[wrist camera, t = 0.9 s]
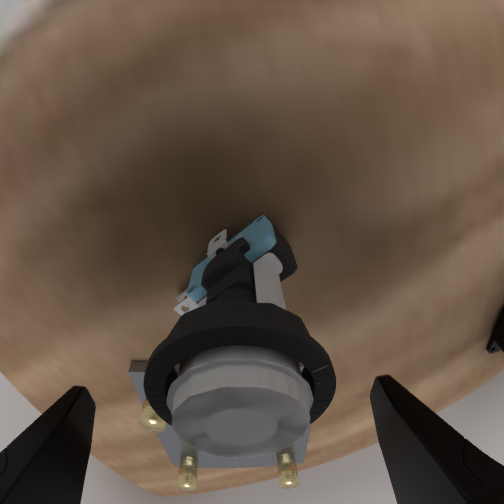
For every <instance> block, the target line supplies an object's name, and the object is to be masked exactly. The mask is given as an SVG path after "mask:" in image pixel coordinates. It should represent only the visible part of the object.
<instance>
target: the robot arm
mask: <svg viewBox="0 0 504 504" xmlns="http://www.w3.org/2000/svg"><path fill="white" fill-rule="evenodd" d="M500 350H502V351H503V352H504V310H503V312H502V315H501V317H500V320H499V322H498V324H497V327H496V329H495V331H494V334H493V336H492V338H491V340H490V342H489V345H488V347H487V351H488V352H489V353H490V354H491V353H494V352H497V351H500ZM370 400H371V405H372V410H373V415H374V420H375V426H376V431H377V436H378V440H379V444H380V447H381V450H382V454H383V457H384V460H385V463H386V466H387V469H388V473H389V477H390V480H391V483H392V487H393V490H394V493H395V497H396V501H397V504H504V466H503V465H502V464H500V463H498V462H497V461H495V460H494V459H492V458H490V457H489V456H488V455H486V454H485V453H483V452H482V451H481V450H479V449H478V448H477V447H476V446H474V445H473V444H472V443H471V442H469V441H468V440H467V439H464V437H463V436H462V435H461V434H460V433H458V432H457V431H456V430H455V429H454V428H452V427H451V426H450V425H448V423H446V422H445V421H444V420H443V419H442V418H440V417H439V416H438V415H437V414H436V413H434V412H433V411H432V410H431V409H430V408H428V407H427V406H426V405H425V404H424V403H422V402H421V401H420V400H419V399H418V398H416V397H415V396H414V395H413V394H412V393H410V392H409V391H408V390H407V389H406V388H404V387H403V386H402V385H401V384H400V383H398V382H397V381H396V380H395V379H394V378H392V377H391V376H390V375H382V376H377V377H376V378H375V380H374V383H373V386H372V390H371V393H370ZM95 409H96V407H95V402H94V400H93V398H92V397H91V395H90V393H89V392H88V390H87V388H86V387H84V386H73V387H72V388H71V389H69V390H68V391H67V392H66V393H65V394H64V395H63V396H62V397H61V398H59V399H58V400H57V401H56V402H55V403H54V404H53V405H52V406H51V407H50V408H48V409H47V410H46V411H45V412H44V413H43V414H42V415H41V416H40V417H39V418H37V419H36V420H35V421H34V422H33V423H32V424H31V425H30V426H29V427H28V428H26V429H25V430H24V431H23V432H22V433H21V434H20V435H19V436H18V437H17V438H16V439H14V440H13V441H12V442H11V443H10V444H9V445H8V446H7V448H5V449H4V450H2V451H1V452H0V504H80V502H81V497H82V491H83V485H84V480H85V475H86V469H87V464H88V459H89V455H90V450H91V443H92V434H93V425H94V417H95Z"/></svg>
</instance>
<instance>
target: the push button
mask: <svg viewBox="0 0 504 504" xmlns="http://www.w3.org/2000/svg"><path fill="white" fill-rule="evenodd" d="M219 237H220V238H219ZM218 238H219V239H218ZM226 238H227V229H224V230H223V231H221V232H220V233H219V234H217V235H216V236H215V237H214V238H212V239H211V241H210V242H209V245H208V250H207V251H208V253H207V255H208V257H207V258H206V259H205V260H203V261H202V262H201V263H199V264H198V265H197V266H196V267H195V268H194V269H193V271H192V274H191V278H190V283H189V285H188V286H189V287H188V289H187V290H186V291H184V292H183V293H182V294H180V295H179V296H178V297H177V300H178V301H179V302H180V303H179V304H178V305H176V306H175V307H174V310H175V311H176V312H178V313H179V314H180V315H181V317H180V319H179V320H178V322H177V323H176V325H175V326H174V328H173V329H172V331H171V332H170V334H169V335H168V337H167V338H166V339H165V340H164V341H163V342H162V343H160V344H159V345H158V346H157V348H156V349H155V350H154V351H153V353H152V355H151V357H150V358H149V361H148V364H147V367H146V371H145V375H144V392H145V395H146V398H147V400H148V402H149V404H150V406H151V407H152V409H153V410H154V411H155V412H156V414H157V415H158V416H159V417H160V418H161V419H162V420H164V421H165V422H166V423H168V424H169V425H170V426H172V428H173V430H174V433H176V434H177V435H178V436H179V437H180V439H181V440H182V441H183V442H185V443H186V444H188V445H190V446H191V447H192V448H195V449H198V450H200V451H202V452H204V453H208V454H213V455H216V456H220V457H228V458H252V457H258V456H263V455H267V454H270V453H274V452H278V451H281V450H283V449H285V448H286V447H288V446H290V445H291V444H293V443H295V442H297V441H298V440H300V439H301V438H302V437H303V435H304V433H305V431H306V430H307V428H308V427H309V425H310V424H311V423H313V422H314V421H315V420H316V419H318V418H319V417H320V416H321V415H322V414H323V413H324V411H325V410H326V409H327V407H328V406H329V404H330V403H331V401H332V399H333V396H334V393H335V389H336V376H335V372H334V369H333V366H332V363H331V360H330V358H329V356H328V354H327V352H326V351H325V350H324V348H323V347H322V346H321V345H320V344H319V343H318V342H317V341H316V340H315V339H313V338H312V337H311V336H310V334H309V333H308V331H307V329H306V327H305V325H304V323H303V321H302V320H301V318H300V317H298V316H297V315H295V314H293V313H291V312H289V311H287V309H286V305H285V300H284V296H283V291H282V287H281V281H283V280H284V279H286V278H287V277H289V276H290V275H291V274H293V273H294V272H295V271H296V269H297V264H296V261H295V258H294V255H293V252H292V249H291V247H290V245H289V244H288V243H287V241H286V240H285V239H284V238H283V237H282V235H281V234H280V233H279V232H278V231H277V229H276V228H275V227H274V226H273V225H272V223H271V222H270V221H269V220H268V219H267V217H266V216H265V215H261V216H260V217H258V218H257V219H256V220H254V221H253V223H252V224H250V225H249V226H248V227H246V228H245V229H244V230H242V231H241V232H240V233H238V234H237V235H236V236H234V237H233V238H232V239H231V240H229V241H228V242H227V241H226V240H225V239H226ZM216 239H218V240H217V241H216ZM215 241H216V242H215ZM184 296H187V298H186V299H184ZM183 305H184V306H185V307H189V310H188V311H184V310H183V309H182V306H183ZM299 362H301V363H302V364H303V365H304V368H303V370H302V372H301V370H300V365H299ZM178 363H180V366H179V372H178V373H177V371H176V369H175V366H176V365H177V364H178Z"/></svg>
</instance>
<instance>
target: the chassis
mask: <svg viewBox="0 0 504 504" xmlns="http://www.w3.org/2000/svg"><path fill="white" fill-rule="evenodd" d="M147 364H148V361H132V362H131V365H130V368H129V371H128V372H129V374H130V377H131V379H132V381H133V384H134V386H135V388H136V391H137V393H138V395H139V397H140V399H141V402H142V404H143V408H142V412H141V417H140V421H139V424H140V426H141V427H142V428H144V429H145V430H148V431H151V432H156V433H157V435H158V437H159V438H160V440H161V442H162V444H163V446H164V448H165V450H166V452H167V454H168V455H169V457H170V459H171V461H172V463H173V464H174V466H175V467H179V475H178V486H177V487H178V488H179V489H181V490H184V491H195V490H196V484H197V468H245V467H263V466H276V465H278V474H279V483H280V487H281V488H293V487H296V486H298V485H299V481H298V474H297V467H296V464H297V463H303V462H304V457H305V452H306V446H307V441H308V435H309V430H310V425H309V427H308V428H307V430H306V431H305V433H304V435H303V437H302V438H301V439H300V440H298V441H297V442H295V443H293V444H291V445H290V446H288V447H286V448H285V449H283V450H281V451H278V452H274V453H270V454H267V455H263V456H258V457H252V458H228V457H220V456H216V455H213V454H208V453H204V452H202V451H200V450H198V449H195V448H192V447H191V446H190V445H188V444H186V443H185V442H183V441H182V440H181V439H180V437H179V436H178V435H177V434H176V433H174V430H173V428H172V426H170V425H169V424H168V423H166V422H165V421H164V420H162V419H161V418H160V417H159V416H158V415H157V414H156V412H155V411H154V410H153V409H152V407H151V406H150V404H149V402H148V400H147V398H146V395H145V392H144V375H145V371H146V367H147ZM299 365H300V370H301V372H302V370H303V368H304V365H303V364H302V363H301V362H299ZM179 366H180V363H178V364H177V365H176V366H175V369H176V371H177V373H178V372H179Z"/></svg>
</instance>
